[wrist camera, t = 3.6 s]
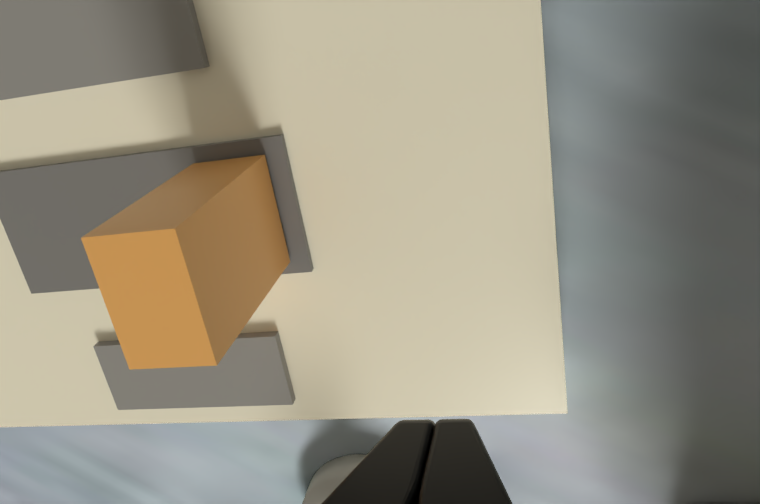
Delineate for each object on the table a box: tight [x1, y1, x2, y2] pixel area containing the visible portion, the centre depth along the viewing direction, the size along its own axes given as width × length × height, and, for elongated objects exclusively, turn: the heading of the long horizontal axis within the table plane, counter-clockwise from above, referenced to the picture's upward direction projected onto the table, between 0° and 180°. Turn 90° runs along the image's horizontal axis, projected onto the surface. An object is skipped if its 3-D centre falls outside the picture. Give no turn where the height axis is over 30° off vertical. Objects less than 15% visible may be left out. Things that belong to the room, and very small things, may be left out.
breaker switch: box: [81, 155, 290, 370], centre depth 15 cm, size 2×3×5 cm, turn 10°
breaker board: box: [0, 0, 567, 427], centre depth 19 cm, size 22×14×3 cm, turn 100°
